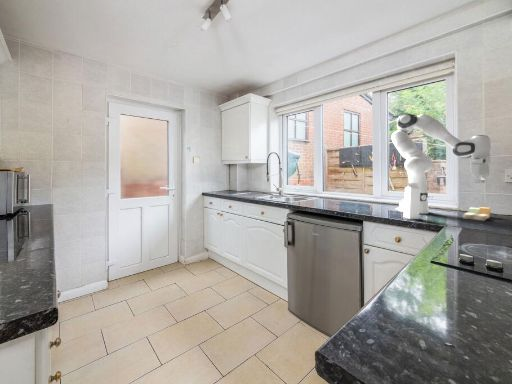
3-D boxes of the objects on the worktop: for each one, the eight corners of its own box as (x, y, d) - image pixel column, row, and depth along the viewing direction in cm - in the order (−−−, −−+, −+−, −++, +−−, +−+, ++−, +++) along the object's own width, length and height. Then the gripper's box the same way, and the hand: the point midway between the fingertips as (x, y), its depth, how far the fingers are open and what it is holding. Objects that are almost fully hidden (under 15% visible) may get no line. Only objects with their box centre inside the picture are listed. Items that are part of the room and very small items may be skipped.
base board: (462, 218, 154) (462, 214, 154) (466, 216, 161) (466, 212, 160) (484, 220, 147) (484, 216, 146) (487, 218, 153) (487, 214, 153)
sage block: (468, 215, 164) (468, 208, 164) (469, 214, 167) (470, 207, 167) (478, 216, 160) (478, 209, 160) (479, 215, 163) (480, 208, 163)
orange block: (478, 217, 158) (479, 207, 158) (480, 216, 161) (481, 207, 161) (488, 218, 155) (489, 208, 154) (489, 217, 158) (490, 207, 157)
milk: (403, 217, 157) (404, 182, 155) (412, 217, 158) (413, 182, 156) (409, 219, 151) (411, 183, 149) (419, 219, 152) (420, 183, 150)
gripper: (479, 161, 164) (479, 182, 164) (468, 160, 153) (467, 183, 153) (492, 161, 158) (492, 182, 159) (481, 160, 147) (480, 183, 148)
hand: (480, 182), depth 156 cm, fingers open, 8 cm apart
